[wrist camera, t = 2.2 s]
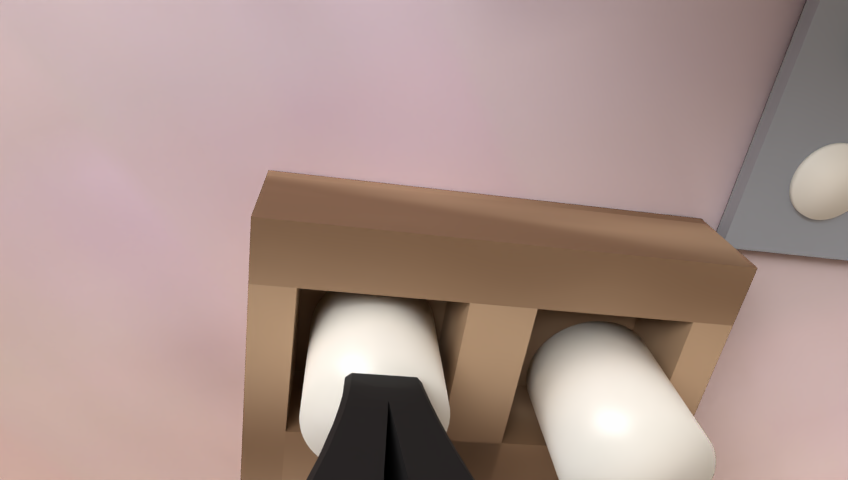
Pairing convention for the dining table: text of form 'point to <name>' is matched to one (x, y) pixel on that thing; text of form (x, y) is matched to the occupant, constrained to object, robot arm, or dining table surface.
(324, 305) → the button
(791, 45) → the card
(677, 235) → the board
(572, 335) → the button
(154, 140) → the dining table surface
